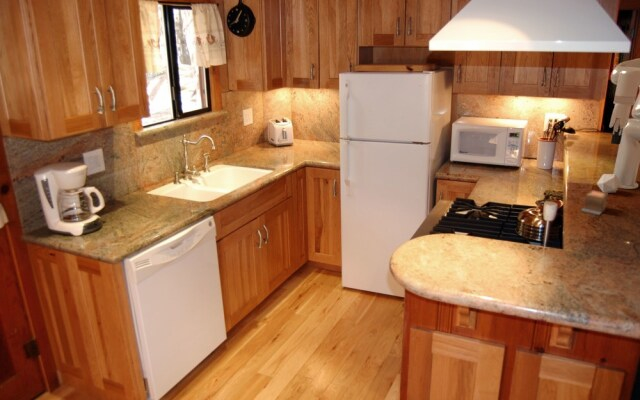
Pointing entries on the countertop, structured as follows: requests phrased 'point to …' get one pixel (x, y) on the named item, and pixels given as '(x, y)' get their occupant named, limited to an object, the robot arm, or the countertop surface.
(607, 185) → the die
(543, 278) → the countertop surface
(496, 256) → the countertop surface
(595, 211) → the mat
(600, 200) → the block
